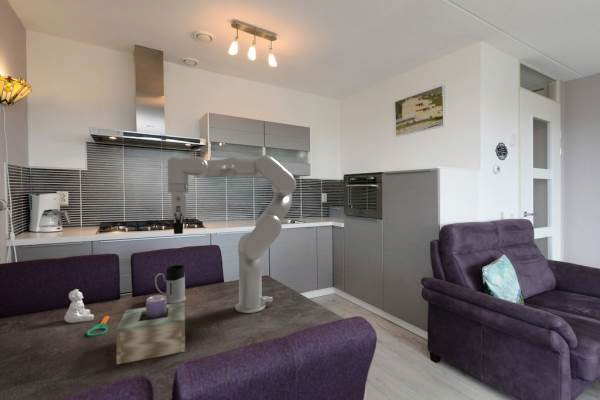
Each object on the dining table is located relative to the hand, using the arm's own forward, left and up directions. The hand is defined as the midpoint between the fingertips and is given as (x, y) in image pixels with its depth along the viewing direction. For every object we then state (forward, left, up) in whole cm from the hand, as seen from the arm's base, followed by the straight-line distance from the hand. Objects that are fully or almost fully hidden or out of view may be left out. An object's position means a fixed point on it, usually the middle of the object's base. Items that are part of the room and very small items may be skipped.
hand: (178, 232), depth 114 cm
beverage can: (+6, +21, -34) cm, 40 cm away
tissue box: (+7, +22, -33) cm, 40 cm away
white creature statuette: (+36, -11, -34) cm, 50 cm away
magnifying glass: (+26, 0, -34) cm, 43 cm away
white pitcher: (+4, -19, -34) cm, 39 cm away
